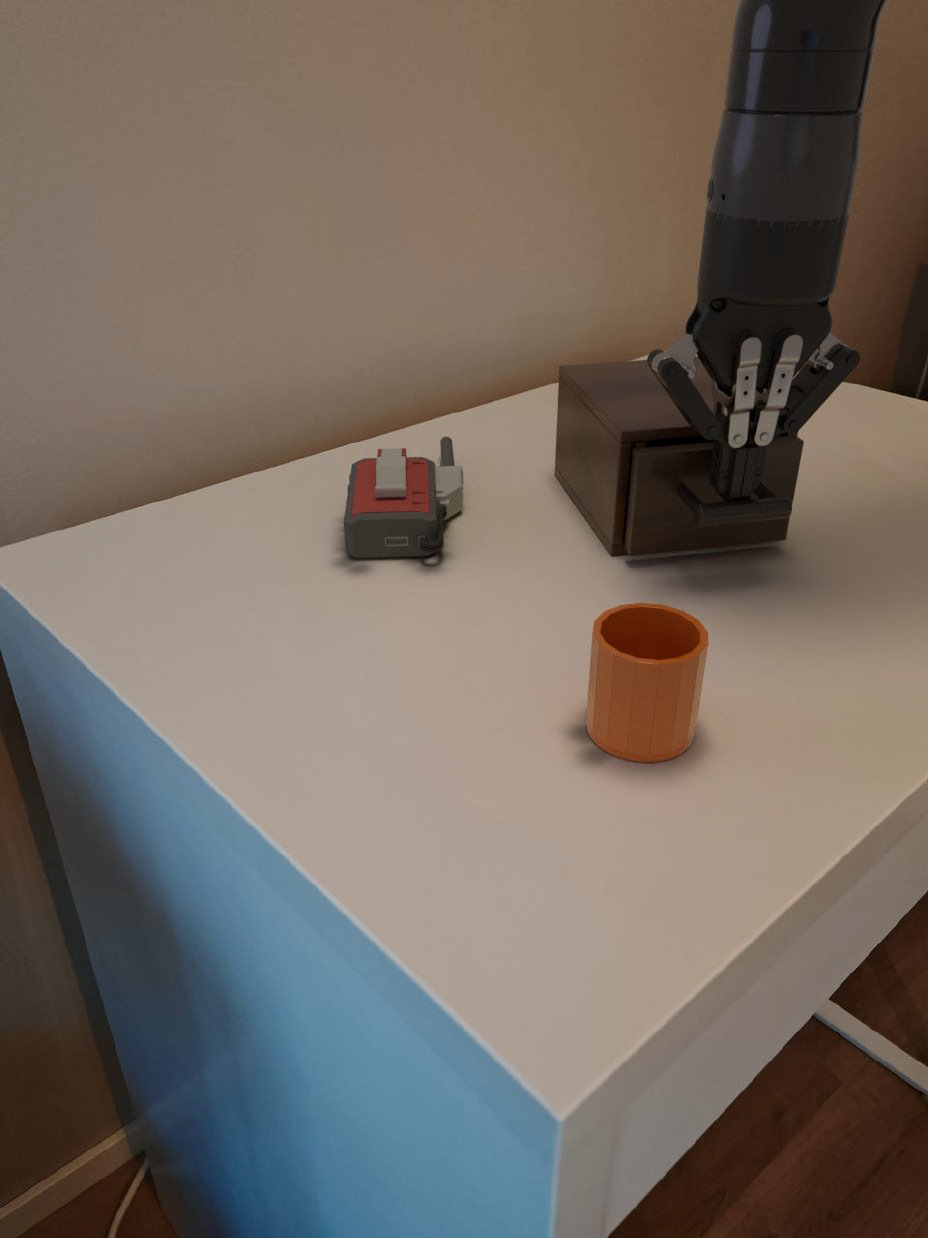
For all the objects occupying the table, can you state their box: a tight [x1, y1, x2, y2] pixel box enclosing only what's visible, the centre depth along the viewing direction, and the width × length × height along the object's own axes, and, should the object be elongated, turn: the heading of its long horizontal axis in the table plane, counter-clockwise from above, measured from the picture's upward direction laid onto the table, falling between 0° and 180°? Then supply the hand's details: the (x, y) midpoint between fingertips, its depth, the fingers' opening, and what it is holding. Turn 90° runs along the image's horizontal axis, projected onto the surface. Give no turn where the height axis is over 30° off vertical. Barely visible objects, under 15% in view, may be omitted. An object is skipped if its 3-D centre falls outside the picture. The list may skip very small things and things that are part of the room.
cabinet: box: [554, 355, 799, 557], centre depth 72 cm, size 15×13×9 cm
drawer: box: [624, 435, 805, 557], centre depth 68 cm, size 18×11×7 cm, turn 11°
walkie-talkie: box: [343, 436, 464, 559], centre depth 73 cm, size 9×4×20 cm
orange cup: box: [585, 602, 709, 763], centre depth 49 cm, size 6×6×6 cm
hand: (732, 496), depth 61 cm, fingers closed
